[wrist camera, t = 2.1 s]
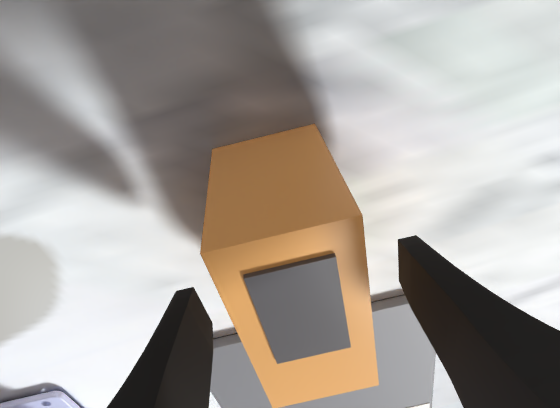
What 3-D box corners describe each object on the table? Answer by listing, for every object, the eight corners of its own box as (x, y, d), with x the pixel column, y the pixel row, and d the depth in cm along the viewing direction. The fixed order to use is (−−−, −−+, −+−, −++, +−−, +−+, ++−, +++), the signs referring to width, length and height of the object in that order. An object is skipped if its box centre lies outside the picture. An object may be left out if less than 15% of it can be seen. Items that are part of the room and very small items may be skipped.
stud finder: (262, 287, 18) (273, 413, 13) (212, 147, 13) (199, 257, 8) (338, 269, 18) (380, 389, 13) (314, 122, 13) (364, 218, 8)
